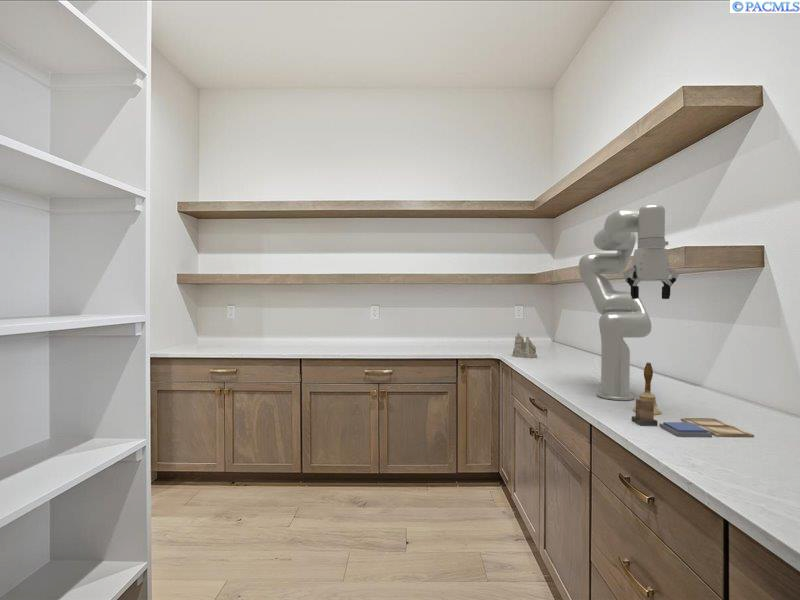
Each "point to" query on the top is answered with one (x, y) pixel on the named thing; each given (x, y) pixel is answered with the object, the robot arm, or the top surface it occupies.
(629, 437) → the top surface
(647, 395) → the hand bell
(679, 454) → the top surface
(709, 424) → the board
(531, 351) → the castle ruin model
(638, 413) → the stamp
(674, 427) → the ink pad
